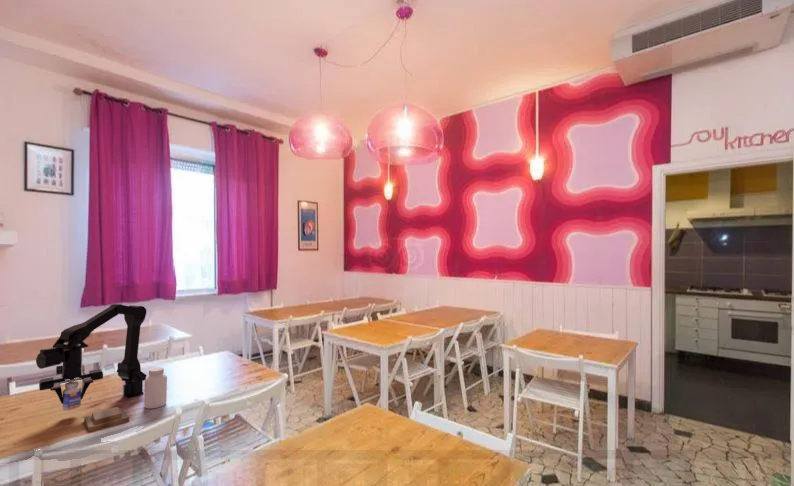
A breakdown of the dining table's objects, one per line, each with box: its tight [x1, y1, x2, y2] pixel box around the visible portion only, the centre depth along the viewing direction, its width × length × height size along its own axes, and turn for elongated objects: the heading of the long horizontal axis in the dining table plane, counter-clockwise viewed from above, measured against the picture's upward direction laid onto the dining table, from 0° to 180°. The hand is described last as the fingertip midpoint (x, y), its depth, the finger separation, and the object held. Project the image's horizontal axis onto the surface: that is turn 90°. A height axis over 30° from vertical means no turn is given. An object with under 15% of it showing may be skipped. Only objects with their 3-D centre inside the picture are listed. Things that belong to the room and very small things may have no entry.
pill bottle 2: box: [143, 367, 168, 410], centre depth 161 cm, size 8×8×15 cm
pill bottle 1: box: [62, 380, 82, 411], centre depth 149 cm, size 5×5×10 cm
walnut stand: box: [84, 406, 130, 432], centre depth 146 cm, size 12×12×3 cm
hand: (71, 401), depth 149 cm, fingers closed on pill bottle 1, 5 cm apart
